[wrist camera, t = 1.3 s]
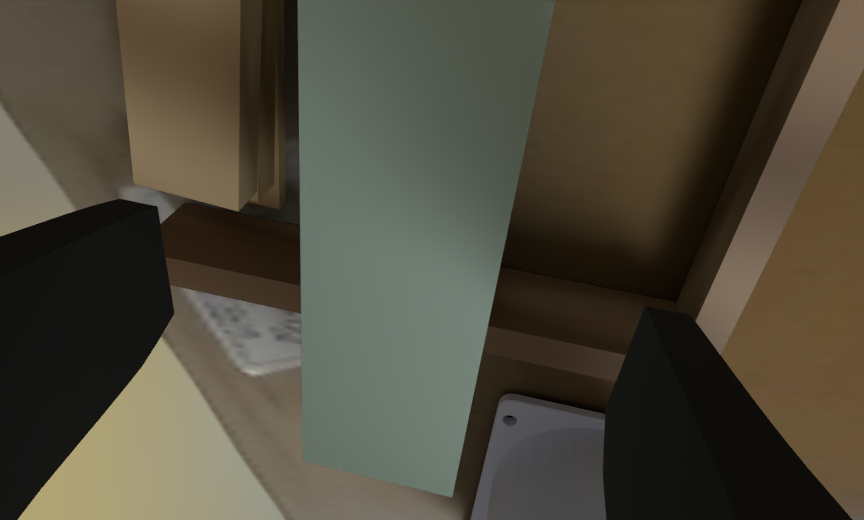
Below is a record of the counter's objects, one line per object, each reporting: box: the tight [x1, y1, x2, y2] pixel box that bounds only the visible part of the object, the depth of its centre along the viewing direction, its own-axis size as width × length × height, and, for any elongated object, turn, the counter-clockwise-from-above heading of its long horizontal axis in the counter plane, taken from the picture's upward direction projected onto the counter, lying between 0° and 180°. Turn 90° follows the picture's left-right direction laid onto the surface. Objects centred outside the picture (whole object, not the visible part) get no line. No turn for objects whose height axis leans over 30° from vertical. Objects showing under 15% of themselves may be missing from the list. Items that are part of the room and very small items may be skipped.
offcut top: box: [116, 0, 263, 212], centre depth 16 cm, size 7×3×1 cm, turn 169°
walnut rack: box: [160, 0, 864, 382], centre depth 16 cm, size 12×17×3 cm
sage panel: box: [298, 0, 556, 497], centre depth 13 cm, size 9×3×9 cm, turn 174°
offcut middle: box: [250, 0, 276, 202], centre depth 17 cm, size 8×3×1 cm, turn 171°
